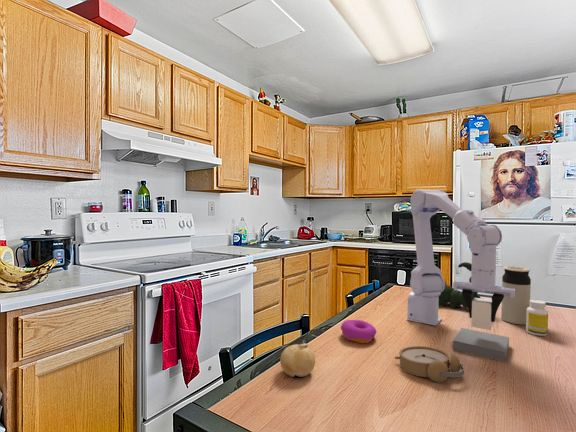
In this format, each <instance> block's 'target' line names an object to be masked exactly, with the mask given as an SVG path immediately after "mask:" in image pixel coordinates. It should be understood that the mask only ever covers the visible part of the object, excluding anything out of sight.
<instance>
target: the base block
mask: <svg viewBox="0 0 576 432" xmlns="http://www.w3.org/2000/svg"><path fill="white" fill-rule="evenodd" d="M509 347H510V337H509V336H505V335H499V334H494V333H490V332H489V333H488V332H486V331H485V332H484V331H478V330H476V329H475V330H473V329H470V328H465V327H461V328H460V329H459V331H458V332H457V334H456V335H455V336H454V338H453V340H452V350H453V351H458V352H460V353H461V352H462V353H467V354H469V355H474V356H478V357H481V358H485V359H486V358H488V359H490V360H496V361H500V362H504V363H505V362H506V361H507V359H506V358H507V355H508V351H509Z"/></svg>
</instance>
